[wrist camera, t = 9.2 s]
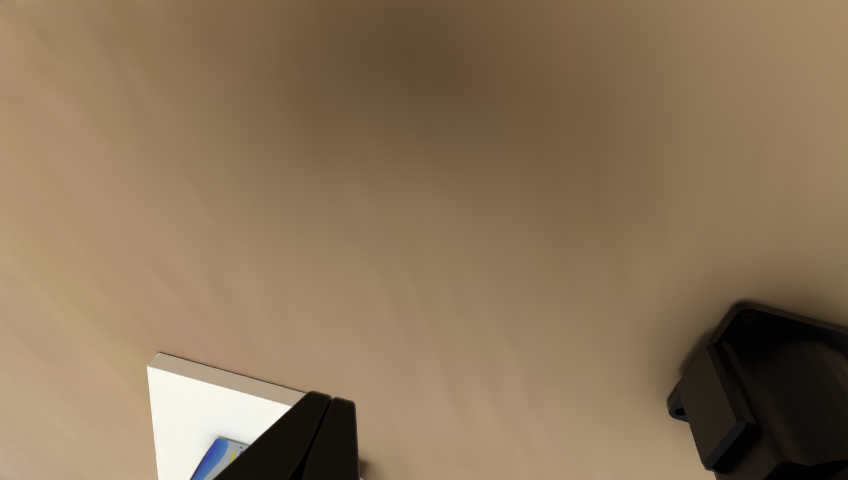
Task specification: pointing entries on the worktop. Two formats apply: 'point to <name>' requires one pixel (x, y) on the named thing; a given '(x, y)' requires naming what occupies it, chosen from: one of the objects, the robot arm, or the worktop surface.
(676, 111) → the worktop surface
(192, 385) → the mat
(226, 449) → the medicine box
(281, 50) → the worktop surface
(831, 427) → the robot arm
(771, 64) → the worktop surface
